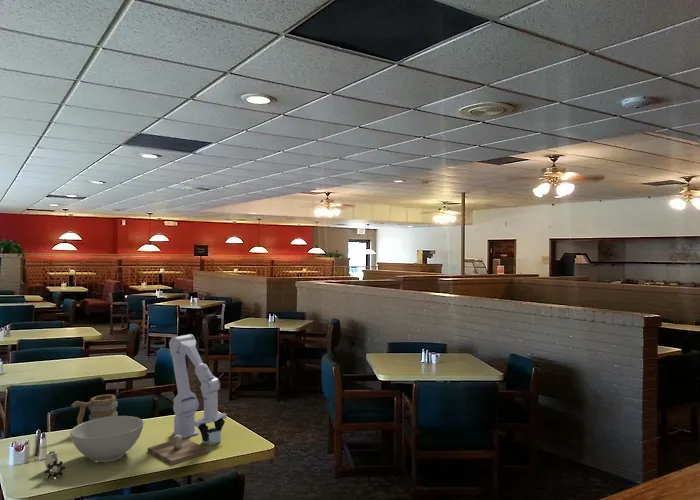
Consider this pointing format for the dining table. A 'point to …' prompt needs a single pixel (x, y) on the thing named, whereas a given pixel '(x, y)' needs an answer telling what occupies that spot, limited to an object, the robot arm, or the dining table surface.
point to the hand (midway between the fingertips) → (211, 439)
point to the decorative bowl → (107, 437)
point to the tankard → (98, 407)
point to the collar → (213, 436)
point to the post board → (177, 450)
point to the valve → (53, 464)
